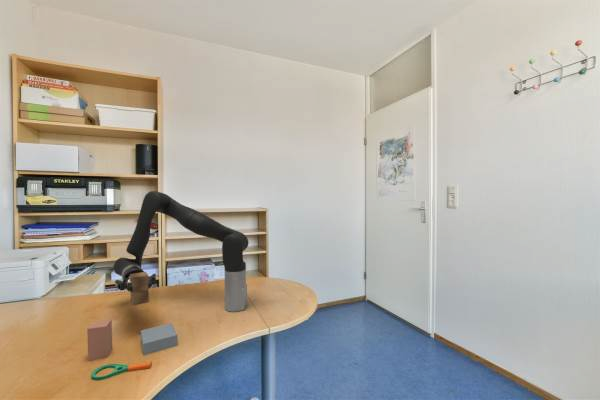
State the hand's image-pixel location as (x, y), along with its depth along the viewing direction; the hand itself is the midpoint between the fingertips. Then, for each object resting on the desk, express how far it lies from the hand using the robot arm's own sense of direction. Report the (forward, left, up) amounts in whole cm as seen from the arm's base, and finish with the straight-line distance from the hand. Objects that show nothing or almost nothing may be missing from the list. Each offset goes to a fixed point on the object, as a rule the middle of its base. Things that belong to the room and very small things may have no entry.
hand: (140, 287), depth 98 cm
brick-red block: (+7, +11, -18) cm, 22 cm away
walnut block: (+2, -2, -6) cm, 7 cm away
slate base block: (-8, +4, -18) cm, 20 cm away
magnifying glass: (-5, +18, -18) cm, 27 cm away
